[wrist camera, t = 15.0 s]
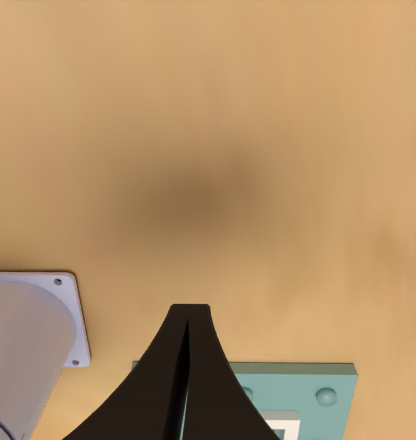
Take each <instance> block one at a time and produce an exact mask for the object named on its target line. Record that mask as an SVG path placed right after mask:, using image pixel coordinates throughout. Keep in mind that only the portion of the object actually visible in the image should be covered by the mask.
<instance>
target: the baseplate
mask: <svg viewBox="0 0 416 440" xmlns="http://www.w3.org/2000/svg"><path fill="white" fill-rule="evenodd" d="M137 363H138V362H134V363H133V367H132V370H133V368H134V367H135V366H136V364H137ZM229 364H230V366H231V368H232V370H233V372H234V374H235V376H236V378H237V379H238V381H239V383H240V385H241V386H242V388H243V390H244V391H245V393H246V394H247V396H248V397H249V399H250V400H251V402H252V403H253V405H254V406H255V407H256V409H257V410H258V412H259V413H260V414H261V416H262V417H263V418H264V420H265V421H266V422H267V424H268V425H269V426H270V427H271V429H274V432H275V434H276V435H277V436H278V437H279V438H280V439H281V440H342V438H343V434H344V430H345V426H346V422H347V418H348V414H349V410H350V405H351V401H352V397H353V393H354V389H355V385H356V381H357V377H358V374H357V372H356V369H355V367H354V364H318V363H229ZM187 393H188V391H187ZM186 402H187V398H186ZM185 411H186V404H185V410H184V417H183V423H182V430H181V437H180V440H182V436H183V428H184V419H185Z"/></svg>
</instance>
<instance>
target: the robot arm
mask: <svg viewBox="0 0 416 440" xmlns="http://www.w3.org/2000/svg"><path fill="white" fill-rule="evenodd" d="M57 279H60V280H61V281H62V282H59V281H57ZM76 360H77V361H76ZM90 362H91V356H90V351H89V346H88V341H87V336H86V331H85V326H84V320H83V315H82V310H81V305H80V300H79V295H78V290H77V284H76V279H75V277H74V276H73V275H72V274H71V273H67V272H0V440H30V439H31V437H32V435H33V432H34V430H35V428H36V426H37V424H38V421H39V419H40V417H41V415H42V413H43V410H44V408H45V406H46V404H47V402H48V399H49V397H50V395H51V393H52V391H53V388H54V386H55V384H56V382H57V380H58V377H59V375H60V373H61V371H62V369H63V367H87V366H89V364H90ZM187 391H188V393H187ZM186 398H187V402H186ZM185 404H186V411H185V419H184V428H183V436H182V440H281V439H280V438H279V437H278V436H277V435H276V434H275V432H274V431H273V430H272V429H271V427H270V426H269V425H268V424H267V422H266V421H265V420H264V418H263V417H262V416H261V414H260V413H259V412H258V410H257V409H256V407H255V406H254V405H253V403H252V402H251V400H250V399H249V397H248V396H247V394H246V393H245V391H244V390H243V388H242V386H241V385H240V383H239V381H238V379H237V378H236V376H235V374H234V372H233V370H232V368H231V366H230V364H229V362H228V360H227V358H226V356H225V354H224V352H223V349H222V347H221V344H220V342H219V339H218V337H217V334H216V331H215V328H214V325H213V321H212V317H211V311H210V306H209V305H208V304H173V305H172V306H170V309H169V311H168V314H167V316H166V318H165V320H164V322H163V324H162V325H161V327H160V329H159V331H158V333H157V334H156V336H155V337H154V339H153V341H152V342H151V344H150V346H149V347H148V349H147V350H146V352H145V353H144V354H143V356H142V357H141V359H140V360H139V362H138V363H137V364H136V366H135V367H134V368H133V370H132V371H131V372H130V373H129V375H128V376H127V377H126V378H125V379H124V381H123V382H122V383H121V384H120V385H119V387H118V388H117V389H116V390H115V391H114V392H113V393H112V394H111V395H110V396H109V397H108V398H107V400H106V401H105V402H104V403H103V404H102V405H101V406H100V407H99V408H98V409H97V410H95V411H94V412H93V413H92V414H91V415H90V416H89V417H88V418H87V419H86V420H85V421H83V422H82V423H81V424H80V425H79V426H78V427H77V428H76V429H75V430H73V431H72V432H71V433H70V434H69V435H67V436H66V437H65V438H63V439H62V440H180V437H181V430H182V423H183V417H184V410H185Z"/></svg>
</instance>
